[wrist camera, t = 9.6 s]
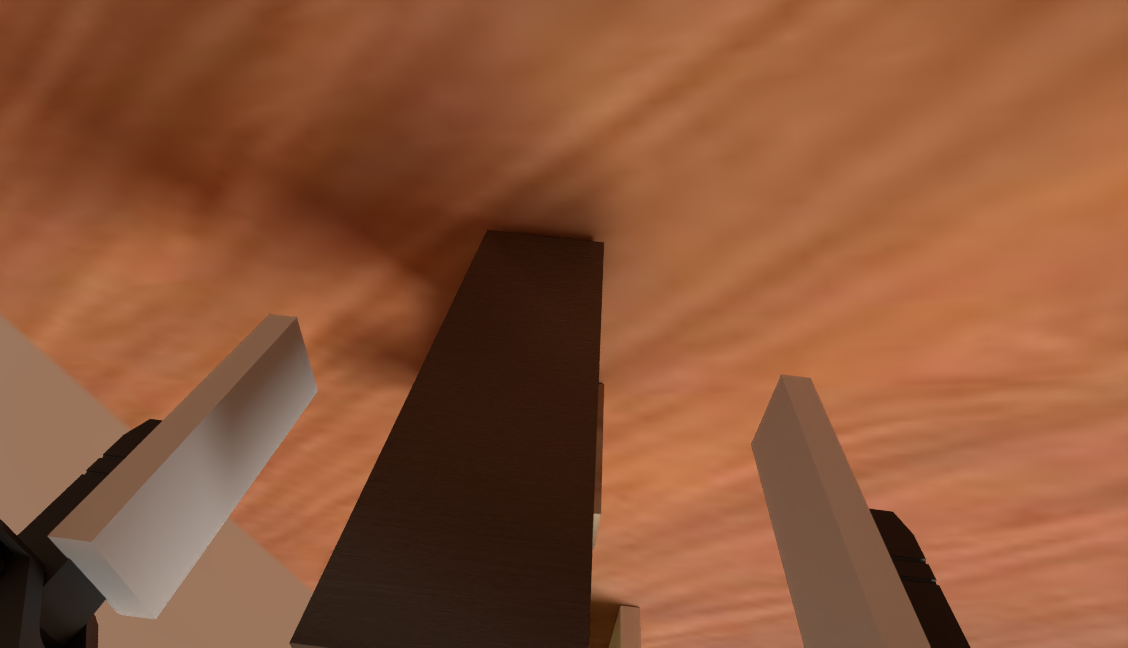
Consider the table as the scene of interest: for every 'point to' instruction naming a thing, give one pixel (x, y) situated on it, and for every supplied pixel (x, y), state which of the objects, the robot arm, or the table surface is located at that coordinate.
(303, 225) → the table surface
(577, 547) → the piston
